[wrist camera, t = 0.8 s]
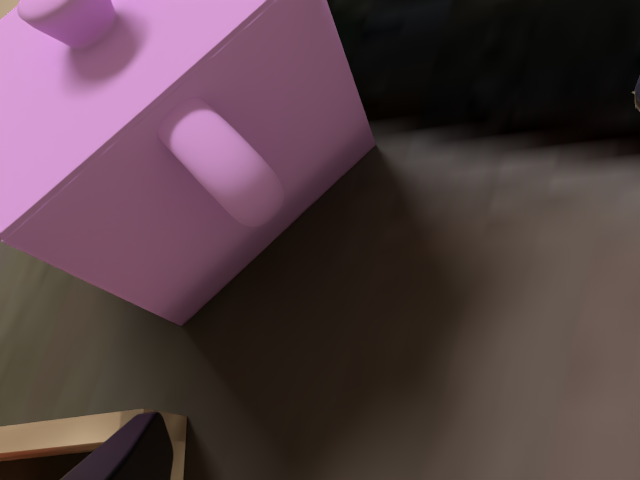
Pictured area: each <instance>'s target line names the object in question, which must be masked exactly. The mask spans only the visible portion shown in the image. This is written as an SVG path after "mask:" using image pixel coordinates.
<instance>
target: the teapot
mask: <svg viewBox="0 0 640 480" xmlns="http://www.w3.org/2000/svg"><path fill="white" fill-rule="evenodd" d="M375 145H376V144H375V141H374V138H373V135H372V132H371V129H370V126H369V123H368V120H367V118H366V115H365V112H364V109H363V106H362V103H361V100H360V97H359V94H358V91H357V88H356V85H355V82H354V79H353V77H352V74H351V71H350V68H349V65H348V62H347V59H346V56H345V53H344V50H343V47H342V44H341V41H340V38H339V36H338V33H337V30H336V27H335V24H334V21H333V18H332V15H331V12H330V9H329V6H328V3H327V0H19V3H18V5H17V6H16V7H15V8H14V9H13V10H11V11H10V12H9V13H8V14H7V15H5V16H4V17H3V18H2V19H1V20H0V238H1V240H2V242H4V243H6V244H8V245H10V246H12V247H14V248H16V249H18V250H20V251H23V252H25V253H27V254H29V255H31V256H33V257H35V258H37V259H40V260H42V261H44V262H46V263H48V264H50V265H52V266H54V267H56V268H59V269H61V270H63V271H65V272H67V273H69V274H71V275H73V276H76V277H78V278H80V279H82V280H84V281H86V282H88V283H90V284H92V285H95V286H97V287H99V288H101V289H103V290H105V291H107V292H109V293H112V294H114V295H116V296H118V297H120V298H122V299H124V300H126V301H129V302H131V303H133V304H135V305H137V306H139V307H141V308H143V309H145V310H148V311H150V312H152V313H154V314H156V315H158V316H160V317H162V318H165V319H167V320H169V321H171V322H173V323H175V324H177V325H179V326H181V327H182V326H183V325H184V324H185V323H186V322H187V321H188V320H189V319H191V318H192V317H193V316H194V315H195V314H196V313H197V312H198V311H199V310H200V309H201V308H202V307H203V306H204V305H205V304H207V303H208V302H209V301H210V300H211V299H212V298H213V297H214V296H215V295H216V294H217V293H218V292H219V291H220V290H222V289H223V288H224V287H225V286H226V285H227V284H228V283H229V282H230V281H231V280H232V279H233V278H234V277H235V276H236V275H238V274H239V273H240V272H241V271H242V270H243V269H244V268H245V267H246V266H247V265H248V264H249V263H250V262H251V261H253V260H254V259H255V258H256V257H257V256H258V255H259V254H260V253H261V252H262V251H263V250H264V249H265V248H266V247H267V246H269V245H270V244H271V243H272V242H273V241H274V240H275V239H276V238H277V237H278V236H279V235H280V234H281V233H282V232H284V231H285V230H286V229H287V228H288V227H289V226H290V225H291V224H292V223H293V222H294V221H295V220H296V219H297V218H298V217H300V216H301V215H302V214H303V213H304V212H305V211H306V210H307V209H308V208H309V207H310V206H311V205H312V204H313V203H314V202H316V201H317V200H318V199H319V198H320V197H321V196H322V195H323V194H324V193H325V192H326V191H327V190H328V189H329V188H331V187H332V186H333V185H334V184H335V183H336V182H337V181H338V180H339V179H340V178H341V177H342V176H343V175H344V174H345V173H347V172H348V171H349V170H350V169H351V168H352V167H353V166H354V165H355V164H356V163H357V162H358V161H359V160H360V159H362V158H363V157H364V156H365V155H366V154H367V153H368V152H369V151H370V150H371V149H372V148H373V147H374V146H375Z"/></svg>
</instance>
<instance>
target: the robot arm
mask: <svg viewBox="0 0 640 480" xmlns="http://www.w3.org/2000/svg"><path fill="white" fill-rule="evenodd" d="M173 458H174V452H173V446H172V442H171V439H170V436H169V433H168V430H167V427H166V425H165V422H164V419H163V416H162V415H161V413H159V412H157V411H154V412H148V413H141V414H138V415H136V416H134V417H133V418H132V419H131V420H130V421H128V422H127V423H126V424H125V425H124V426H122V427H121V428H120V429H119V430H118V431H117V432H115V433H114V434H113V435H112V436H111V437H110V438H108V439H107V440H106V441H105V442H104V443H102V444H101V445H100V446H99V447H98V448H97V449H95V450H94V451H93V452H92V453H91V454H90V455H88V456H87V457H86V458H85V459H84V460H82V461H81V462H80V463H79V464H78V465H77V466H75V467H74V468H73V469H72V470H71V471H70V472H68V473H67V474H66V475H65V476H64V477H62V478H61V479H60V480H170V479H171V472H172V466H173Z"/></svg>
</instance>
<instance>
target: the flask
mask: <svg viewBox="0 0 640 480" xmlns="http://www.w3.org/2000/svg"><path fill="white" fill-rule="evenodd" d="M633 93H634V94H635V106H636V108H637V109H638V110H639V111H640V77H639V79H638V81H637V84H636V87H635V91H634V92H633Z"/></svg>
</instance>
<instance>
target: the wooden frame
mask: <svg viewBox="0 0 640 480" xmlns="http://www.w3.org/2000/svg"><path fill="white" fill-rule="evenodd" d="M154 411H155V410H150V409H136V410H128V411H121V412H113V413H105V414H97V415H89V416H81V417H73V418H66V419H58V420H50V421H42V422H34V423H26V424H19V425H11V426H3V427H0V461H8V460H17V459H27V458H36V457H46V456H55V455H65V454H74V453H84V452H93V451H94V450H95V449H97V448H98V447H99V446H100V445H101V444H102V443H104V442H105V441H106V440H107V439H108V438H110V437H111V436H112V435H113V434H114V433H115V432H117V431H118V430H119V429H120V428H121V427H122V426H124V425H125V424H126V423H127V422H128V421H130V420H131V419H132V418H133V417H134V416H136V415H138V414H141V413H148V412H154ZM157 412H159V413H161V415H162V416H163V419H164V422H165V425H166V427H167V430H168V433H169V436H170V439H171V442H172V446H173V452H174V458H173V466H172V472H171V479H170V480H183V476H184V458H185V441H186V424H187V416H183V415H177V414H172V413H166V412H161V411H157Z"/></svg>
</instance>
